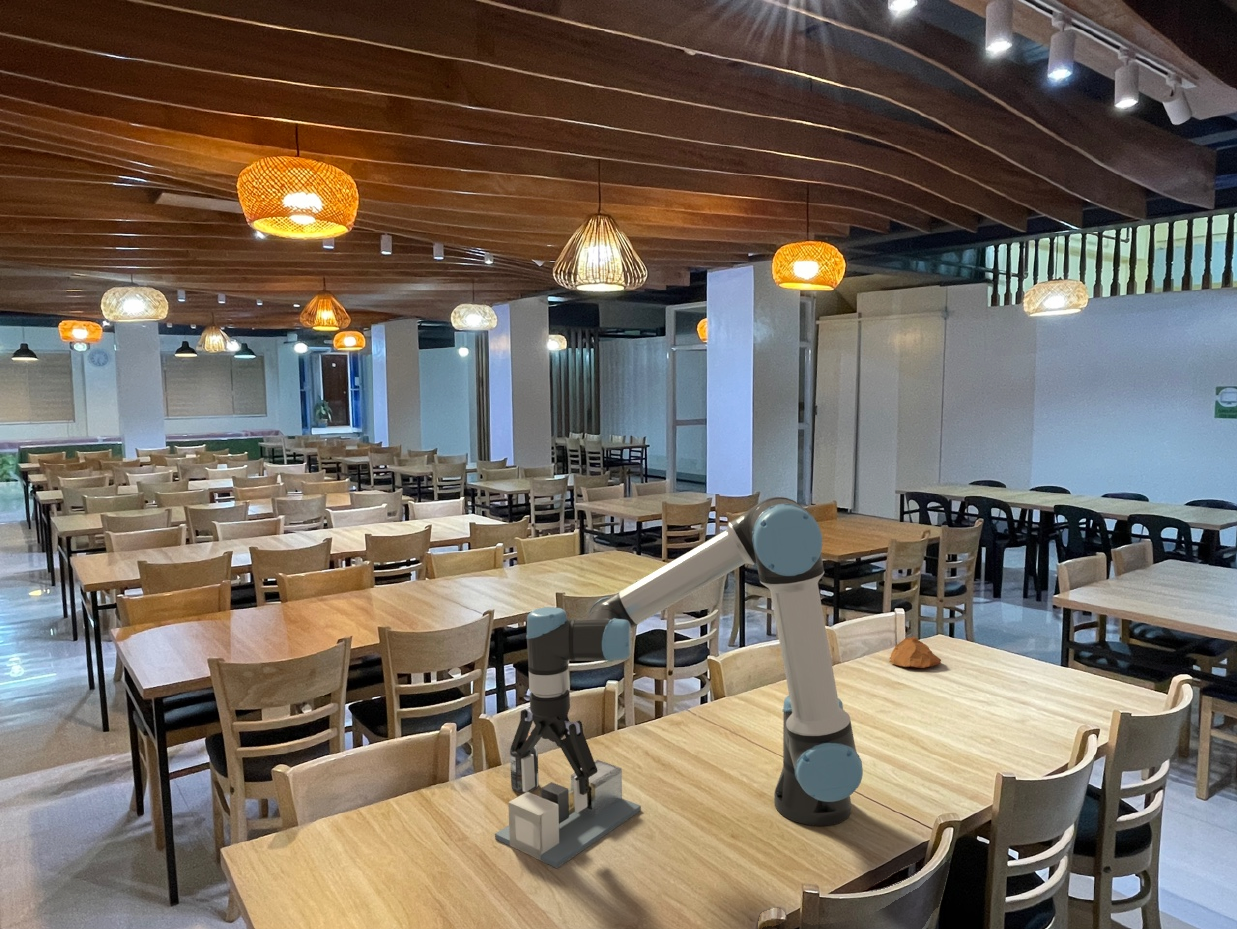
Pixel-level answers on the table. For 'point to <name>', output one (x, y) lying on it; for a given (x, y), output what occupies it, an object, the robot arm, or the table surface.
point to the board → (581, 831)
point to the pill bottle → (517, 774)
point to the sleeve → (603, 787)
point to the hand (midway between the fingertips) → (554, 799)
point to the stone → (913, 654)
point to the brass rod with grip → (562, 799)
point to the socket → (533, 824)
